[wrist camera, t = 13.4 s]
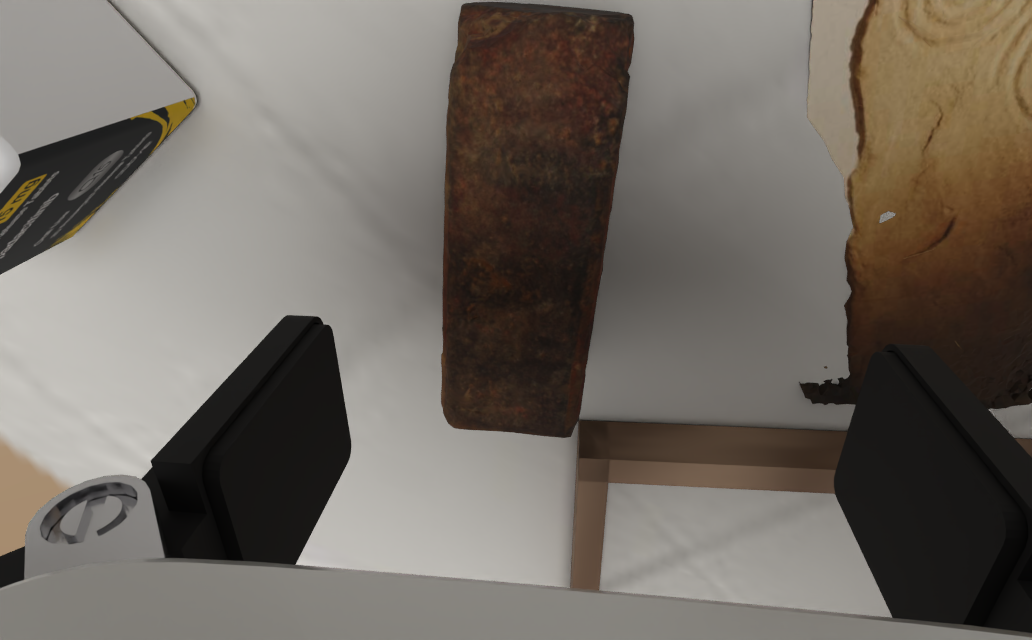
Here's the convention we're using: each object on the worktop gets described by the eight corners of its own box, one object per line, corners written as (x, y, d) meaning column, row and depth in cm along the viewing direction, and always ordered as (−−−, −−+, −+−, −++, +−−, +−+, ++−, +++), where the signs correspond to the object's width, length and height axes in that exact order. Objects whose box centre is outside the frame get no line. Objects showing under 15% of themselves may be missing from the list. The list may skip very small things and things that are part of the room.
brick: (577, 357, 21) (579, 447, 17) (461, 345, 21) (436, 432, 17) (628, 9, 16) (648, 20, 12) (475, -4, 16) (443, 2, 12)
